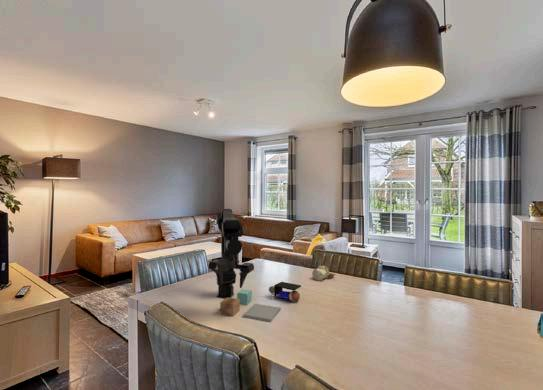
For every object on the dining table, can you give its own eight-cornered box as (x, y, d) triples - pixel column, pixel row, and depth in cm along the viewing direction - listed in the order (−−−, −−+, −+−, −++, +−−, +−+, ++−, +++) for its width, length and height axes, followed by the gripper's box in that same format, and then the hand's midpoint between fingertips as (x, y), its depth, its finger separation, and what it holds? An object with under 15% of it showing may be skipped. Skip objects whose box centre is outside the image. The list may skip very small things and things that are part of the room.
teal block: (237, 303, 129) (237, 292, 129) (241, 299, 134) (241, 289, 134) (247, 305, 127) (247, 294, 127) (251, 301, 132) (251, 290, 132)
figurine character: (268, 300, 137) (295, 304, 128) (267, 284, 137) (294, 287, 128) (276, 296, 142) (303, 300, 133) (275, 280, 143) (301, 283, 134)
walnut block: (220, 314, 118) (220, 302, 118) (227, 308, 123) (227, 297, 123) (233, 316, 116) (233, 304, 116) (239, 311, 121) (239, 299, 121)
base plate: (243, 316, 115) (243, 314, 115) (254, 305, 127) (254, 303, 126) (271, 321, 111) (271, 319, 111) (280, 309, 122) (280, 307, 122)
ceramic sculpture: (307, 264, 165) (321, 261, 177) (307, 279, 165) (320, 275, 176) (324, 267, 158) (336, 264, 170) (323, 283, 158) (336, 279, 170)
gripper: (201, 251, 115) (200, 289, 115) (243, 255, 109) (243, 296, 109) (215, 246, 125) (215, 281, 125) (254, 249, 119) (254, 286, 119)
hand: (230, 286), depth 119 cm, fingers open, 9 cm apart
